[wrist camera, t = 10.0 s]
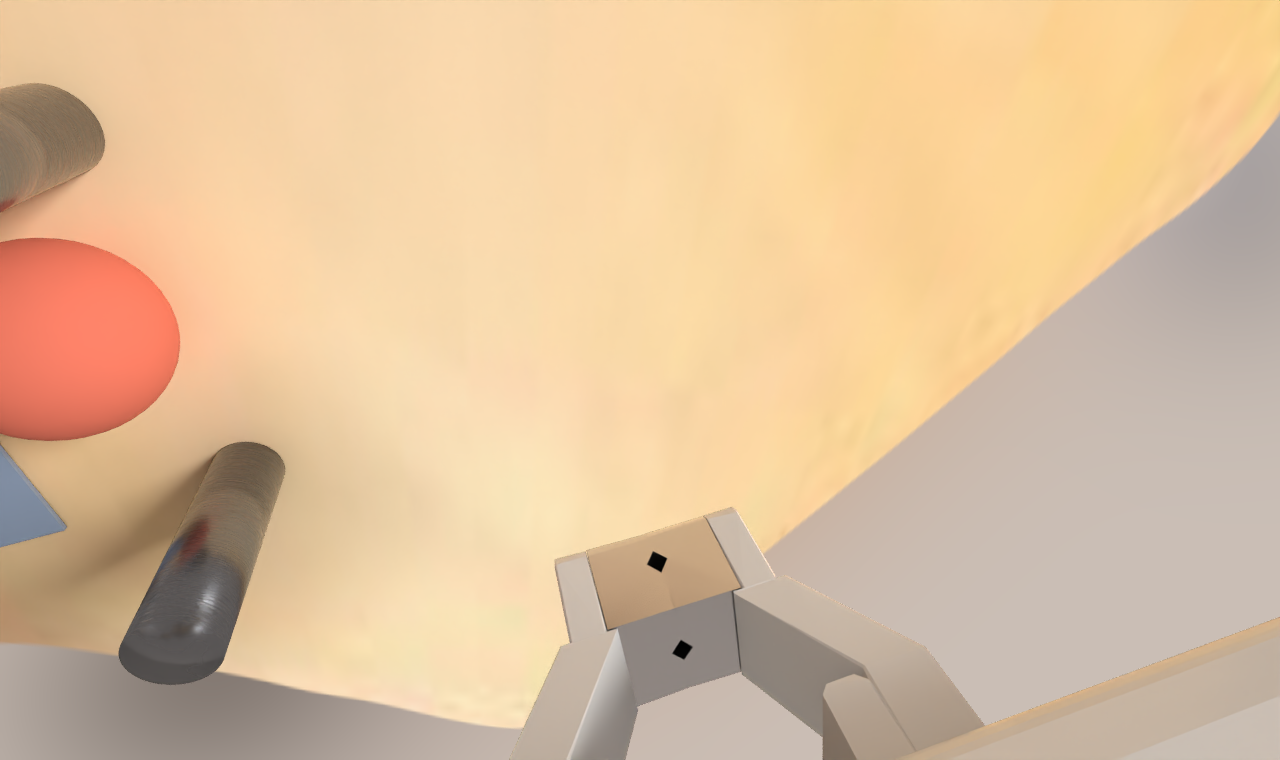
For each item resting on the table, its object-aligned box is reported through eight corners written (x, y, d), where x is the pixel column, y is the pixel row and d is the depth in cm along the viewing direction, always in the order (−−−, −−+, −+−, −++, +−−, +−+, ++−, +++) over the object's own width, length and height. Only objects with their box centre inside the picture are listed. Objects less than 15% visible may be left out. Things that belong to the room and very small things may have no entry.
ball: (-84, 496, 18) (179, 465, 20) (-196, 286, 15) (125, 276, 17) (7, 388, 23) (211, 372, 25) (-65, 213, 20) (173, 212, 22)
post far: (230, 502, 27) (148, 695, 20) (198, 452, 26) (98, 638, 18) (295, 484, 28) (240, 667, 20) (268, 434, 26) (198, 609, 19)
